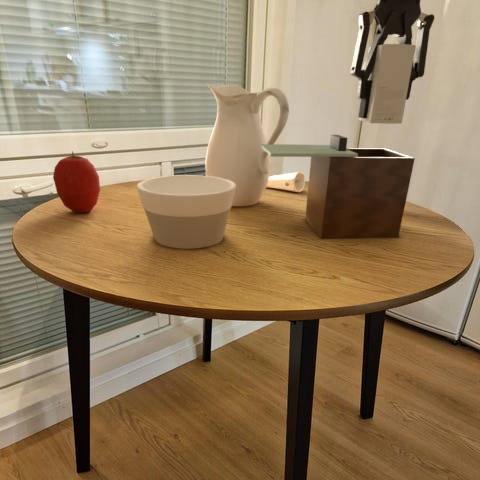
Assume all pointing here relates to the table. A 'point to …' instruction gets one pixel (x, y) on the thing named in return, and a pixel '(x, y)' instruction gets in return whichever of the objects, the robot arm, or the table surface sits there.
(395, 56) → the small box
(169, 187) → the bowl
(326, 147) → the sliding box lid
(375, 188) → the case
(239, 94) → the pitcher
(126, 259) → the table surface
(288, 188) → the long cone
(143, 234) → the table surface
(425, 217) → the table surface
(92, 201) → the apple
